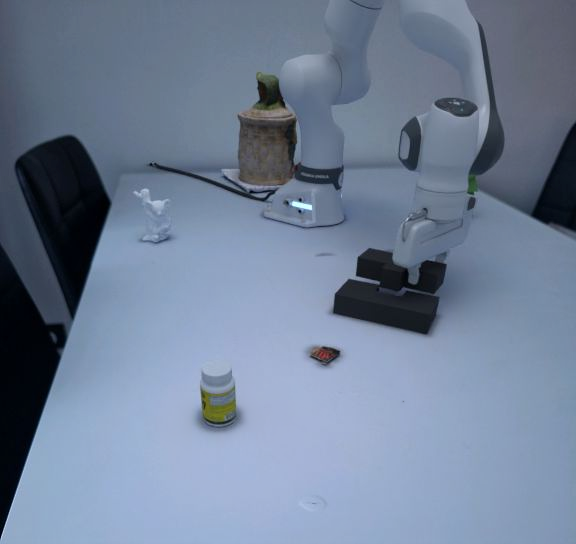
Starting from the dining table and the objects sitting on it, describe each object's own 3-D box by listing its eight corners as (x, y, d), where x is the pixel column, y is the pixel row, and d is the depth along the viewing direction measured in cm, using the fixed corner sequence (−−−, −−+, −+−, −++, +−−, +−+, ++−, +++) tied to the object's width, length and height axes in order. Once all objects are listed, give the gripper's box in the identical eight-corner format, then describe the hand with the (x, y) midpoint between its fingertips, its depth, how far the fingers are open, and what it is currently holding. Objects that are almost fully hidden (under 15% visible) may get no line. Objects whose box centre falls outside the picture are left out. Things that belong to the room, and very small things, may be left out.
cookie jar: (248, 194, 166) (246, 76, 147) (219, 176, 183) (214, 68, 165) (317, 186, 175) (323, 75, 157) (283, 169, 193) (285, 67, 175)
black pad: (350, 280, 104) (352, 261, 102) (367, 266, 110) (369, 247, 108) (430, 299, 98) (434, 279, 95) (443, 283, 104) (447, 263, 101)
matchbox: (341, 351, 90) (341, 348, 89) (331, 366, 86) (331, 363, 86) (316, 344, 91) (316, 342, 91) (304, 359, 87) (304, 356, 87)
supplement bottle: (203, 407, 76) (199, 357, 72) (236, 406, 77) (234, 357, 72) (202, 428, 73) (197, 377, 68) (236, 427, 73) (234, 376, 68)
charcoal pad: (333, 313, 101) (334, 293, 99) (347, 296, 107) (348, 278, 105) (426, 334, 95) (430, 314, 93) (435, 315, 101) (439, 296, 99)
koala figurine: (135, 243, 129) (128, 192, 122) (145, 233, 135) (138, 185, 128) (169, 245, 129) (164, 194, 122) (177, 235, 134) (172, 186, 127)
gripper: (421, 220, 86) (408, 298, 94) (482, 196, 98) (467, 267, 106) (389, 211, 89) (379, 287, 97) (452, 189, 102) (439, 258, 109)
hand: (425, 276), depth 102 cm, fingers closed on black pad, 6 cm apart
